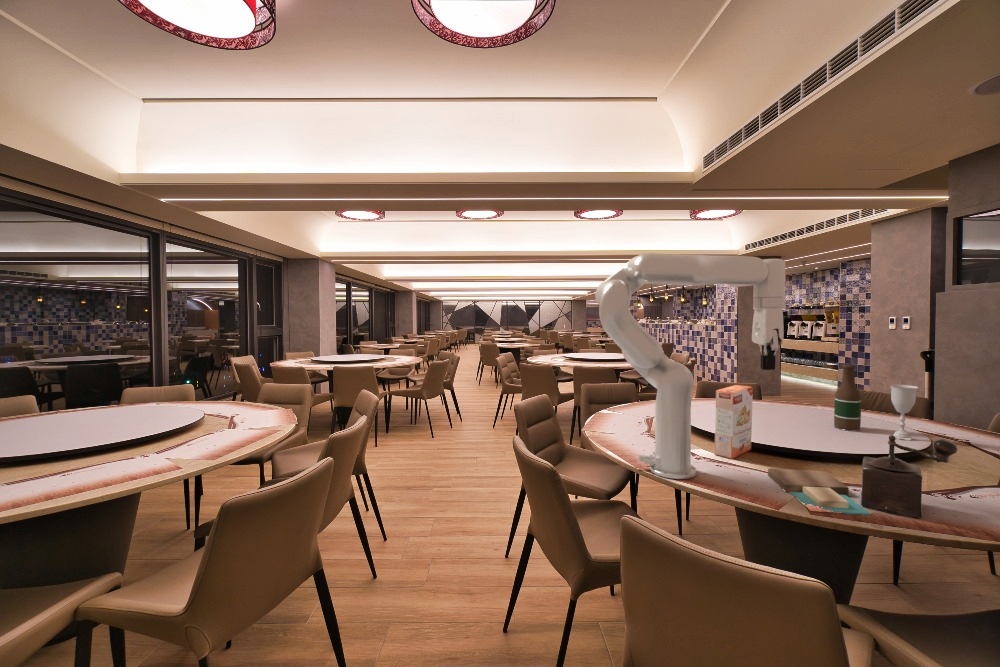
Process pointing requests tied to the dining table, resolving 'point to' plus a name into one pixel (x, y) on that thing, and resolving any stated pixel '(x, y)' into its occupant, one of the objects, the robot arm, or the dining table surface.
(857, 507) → the teal mat
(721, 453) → the cracker box
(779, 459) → the dining table surface
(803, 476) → the board
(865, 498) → the brown manual coffee grinder
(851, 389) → the beer bottle
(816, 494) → the maple tile
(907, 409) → the chalice
